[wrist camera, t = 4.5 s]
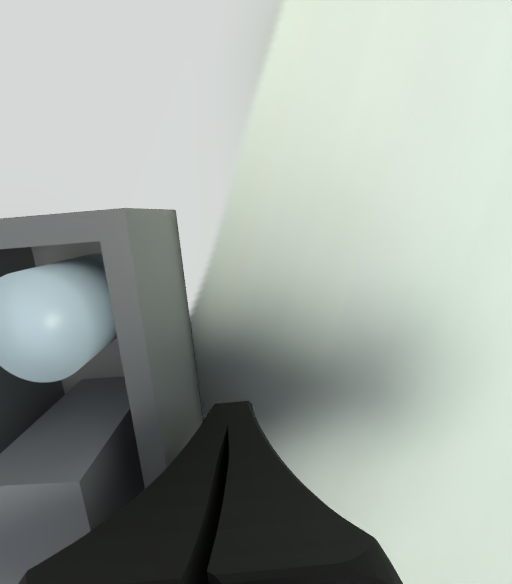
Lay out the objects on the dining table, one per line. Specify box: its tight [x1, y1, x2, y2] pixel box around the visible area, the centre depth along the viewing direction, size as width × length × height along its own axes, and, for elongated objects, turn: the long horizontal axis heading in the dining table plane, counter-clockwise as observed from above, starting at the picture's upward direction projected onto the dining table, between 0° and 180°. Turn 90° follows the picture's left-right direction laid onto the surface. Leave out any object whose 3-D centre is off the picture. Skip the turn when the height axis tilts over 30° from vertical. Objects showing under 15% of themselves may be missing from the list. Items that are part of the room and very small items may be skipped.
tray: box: [0, 208, 203, 584], centre depth 10 cm, size 5×14×5 cm, turn 5°
